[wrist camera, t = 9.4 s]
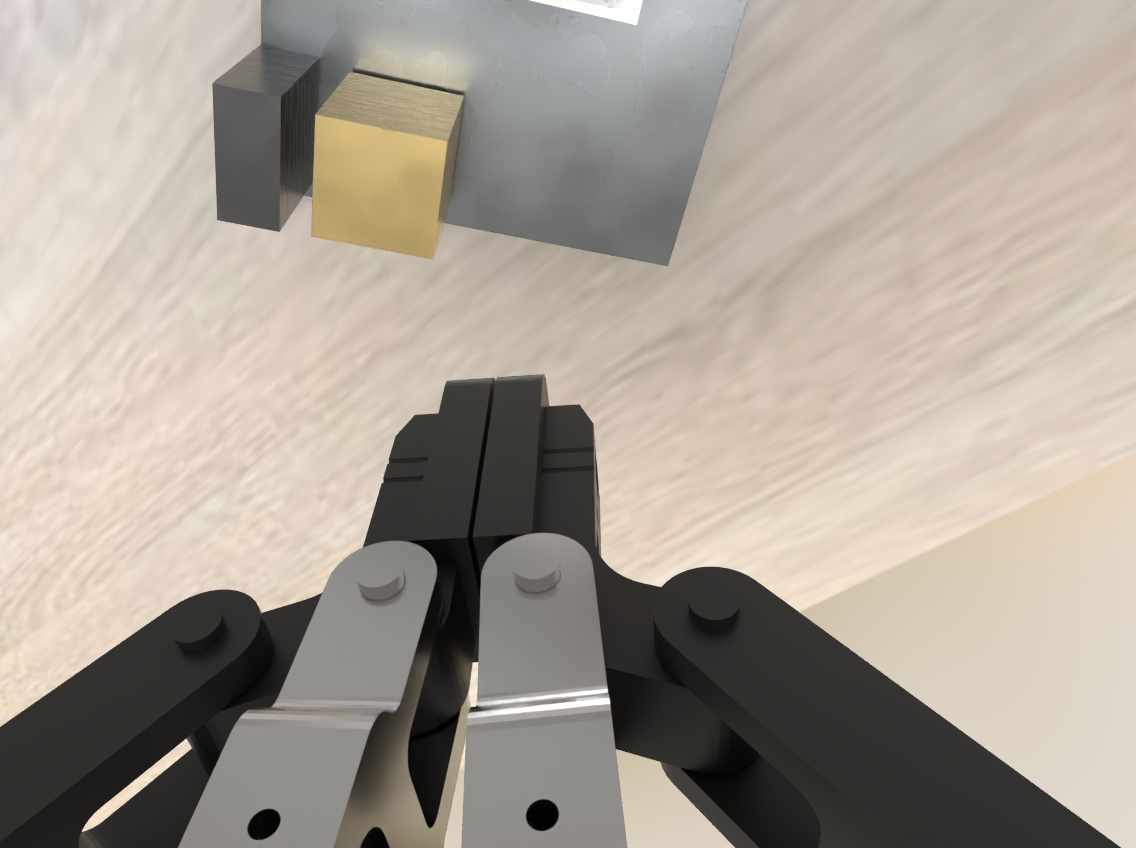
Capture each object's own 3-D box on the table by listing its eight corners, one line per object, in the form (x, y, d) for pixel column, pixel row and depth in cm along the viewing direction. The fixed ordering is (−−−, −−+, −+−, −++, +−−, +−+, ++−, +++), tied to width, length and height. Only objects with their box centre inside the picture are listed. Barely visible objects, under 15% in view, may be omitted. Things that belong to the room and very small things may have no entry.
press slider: (464, 95, 30) (447, 141, 26) (450, 202, 33) (432, 259, 29) (349, 71, 30) (315, 114, 26) (343, 181, 32) (311, 236, 28)
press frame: (815, -261, 26) (877, -276, 21) (664, 250, 36) (680, 328, 30) (275, -409, 24) (192, -468, 19) (272, 173, 34) (218, 242, 29)
